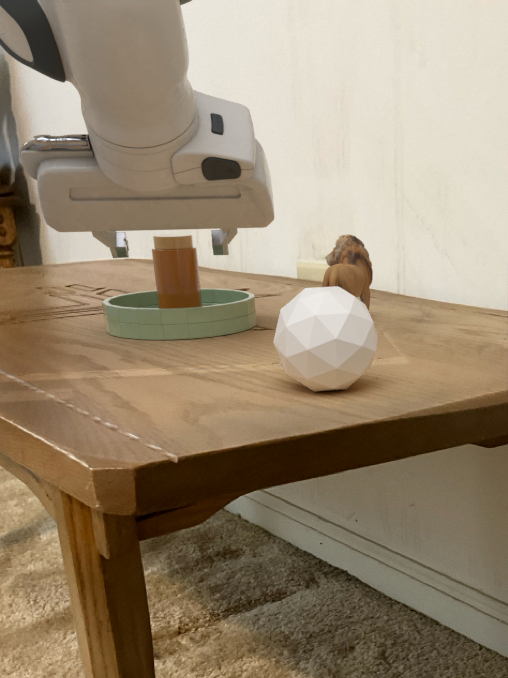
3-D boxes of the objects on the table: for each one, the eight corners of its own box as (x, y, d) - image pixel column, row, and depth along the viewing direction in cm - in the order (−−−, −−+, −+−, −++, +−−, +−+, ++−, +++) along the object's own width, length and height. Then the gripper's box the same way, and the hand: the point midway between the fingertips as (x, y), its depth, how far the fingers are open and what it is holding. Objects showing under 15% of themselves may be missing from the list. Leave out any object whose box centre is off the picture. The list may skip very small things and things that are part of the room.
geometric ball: (320, 430, 65) (261, 356, 59) (302, 372, 70) (247, 299, 64) (406, 379, 64) (355, 299, 58) (381, 324, 69) (332, 246, 63)
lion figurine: (329, 316, 98) (325, 233, 94) (375, 315, 98) (373, 232, 94) (315, 339, 84) (310, 244, 81) (369, 339, 84) (366, 243, 81)
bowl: (96, 349, 81) (90, 311, 80) (119, 323, 95) (114, 290, 93) (257, 342, 83) (254, 306, 82) (256, 318, 97) (254, 286, 96)
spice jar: (159, 330, 86) (147, 237, 83) (163, 323, 90) (152, 234, 87) (203, 329, 87) (193, 236, 83) (205, 322, 91) (196, 233, 87)
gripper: (10, 167, 67) (58, 281, 80) (272, 163, 70) (278, 274, 82) (14, 107, 69) (60, 227, 82) (267, 106, 72) (274, 223, 85)
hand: (171, 251), depth 82 cm, fingers open, 8 cm apart
